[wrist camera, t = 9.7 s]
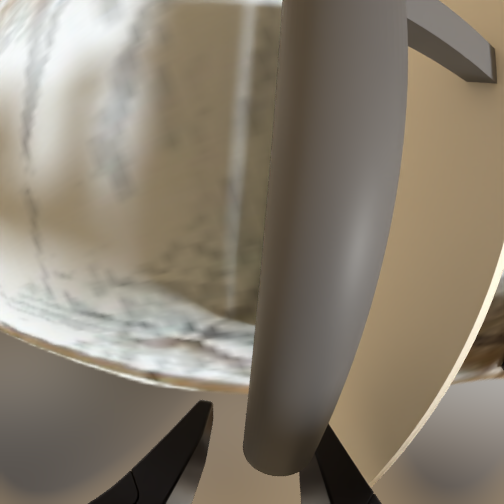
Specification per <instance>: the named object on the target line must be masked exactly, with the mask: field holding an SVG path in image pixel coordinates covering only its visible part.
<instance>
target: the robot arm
mask: <svg viewBox="0 0 504 504" xmlns="http://www.w3.org/2000/svg"><path fill="white" fill-rule="evenodd" d="M502 369H503V370H504V363H503V365H502ZM212 424H213V403H212V402H210V401H205V400H200V401H198V402H197V403H196V404H195V405H194V407H193V408H192V409H191V410H190V411H189V412H188V413H187V414H186V415H185V416H184V417H183V418H182V419H181V420H180V421H179V422H178V423H177V424H176V425H175V427H173V429H172V430H171V431H170V432H169V433H168V434H167V435H166V436H165V437H164V438H163V439H162V440H161V441H160V442H159V443H158V444H157V445H156V446H155V447H154V448H153V449H152V450H151V451H150V452H149V453H148V454H147V455H146V456H145V457H144V458H143V459H142V460H141V461H140V462H139V463H138V464H137V465H136V466H134V467H133V468H132V471H129V472H128V473H127V474H126V475H125V476H124V477H123V478H122V479H121V480H119V481H118V482H117V483H116V484H115V485H114V486H112V487H111V488H110V489H108V490H107V491H106V492H104V493H103V494H102V495H100V496H99V497H97V498H96V499H94V500H93V501H91V502H90V503H88V504H192V501H193V498H194V495H195V492H196V489H197V487H198V483H199V480H200V478H201V474H202V472H203V469H204V466H205V462H206V457H207V452H208V447H209V441H210V435H211V430H212ZM299 476H300V492H301V504H381V502H380V501H379V499H378V498H377V496H376V495H375V494H373V491H372V489H371V488H370V486H369V485H368V483H367V482H366V480H365V479H364V477H363V476H362V474H361V473H360V471H359V470H358V468H357V466H356V465H355V463H354V462H353V460H352V459H351V457H350V456H349V454H348V453H347V451H346V450H345V448H344V447H343V445H342V444H341V442H340V440H339V439H338V437H337V436H336V434H335V433H334V431H333V430H332V428H331V426H330V425H329V423H328V425H327V428H326V430H325V432H324V434H323V436H322V438H321V441H320V443H319V445H318V447H317V449H316V451H315V453H314V455H313V457H312V459H311V461H310V462H309V464H308V465H307V466H306V467H305V468H304V469H302V470H301V471H299Z"/></svg>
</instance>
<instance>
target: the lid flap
mask: <svg viewBox="0 0 504 504" xmlns="http://www.w3.org/2000/svg"><path fill="white" fill-rule="evenodd" d="M503 269H504V0H283V2H282V17H281V31H280V45H279V59H278V73H277V86H276V99H275V111H274V124H273V136H272V148H271V160H270V172H269V184H268V196H267V207H266V218H265V229H264V241H263V251H262V262H261V273H260V284H259V294H258V305H257V315H256V325H255V335H254V345H253V355H252V365H251V375H250V384H249V394H248V404H247V413H246V422H245V432H244V441H243V452H244V455H245V457H246V459H247V461H248V462H249V463H250V464H251V465H252V466H253V467H254V468H255V469H257V470H258V471H260V472H263V473H265V474H268V475H272V476H288V475H292V474H295V473H297V472H299V471H301V470H302V469H304V468H305V467H306V466H307V465H308V464H309V462H310V461H311V459H312V457H313V455H314V453H315V451H316V449H317V447H318V445H319V443H320V441H321V438H322V436H323V434H324V432H325V430H326V428H327V425H328V423H329V425H330V426H331V428H332V430H333V431H334V433H335V434H336V436H337V437H338V439H339V440H340V442H341V444H342V445H343V447H344V448H345V450H346V451H347V453H348V454H349V456H350V457H351V459H352V460H353V462H354V463H355V465H356V466H357V468H358V470H359V471H360V473H361V474H362V476H363V477H364V479H365V480H366V482H367V483H368V485H369V486H370V488H371V487H372V486H373V485H374V484H375V483H376V482H377V481H378V480H379V479H380V478H381V477H382V476H383V475H384V473H385V472H386V471H387V470H388V469H389V468H390V467H391V466H392V464H393V463H394V462H395V461H396V460H397V459H398V457H399V456H400V455H401V454H402V453H403V451H404V450H405V449H406V448H407V447H408V445H409V444H410V443H411V442H412V440H413V439H414V438H415V436H416V435H417V434H418V432H419V431H420V430H421V428H422V427H423V425H424V424H425V423H426V421H427V420H428V419H429V417H430V416H431V414H432V413H433V411H434V410H435V408H436V407H437V405H438V404H439V402H440V401H441V399H442V398H443V396H444V394H445V393H446V391H447V389H448V388H449V386H450V385H451V383H452V381H453V380H454V378H455V376H456V375H457V373H458V371H459V369H460V367H461V366H462V364H463V362H464V360H465V358H466V356H467V354H468V353H469V351H470V349H471V347H472V345H473V343H474V341H475V339H476V336H477V334H478V332H479V330H480V328H481V326H482V323H483V321H484V319H485V317H486V314H487V312H488V310H489V307H490V305H491V302H492V300H493V297H494V294H495V292H496V289H497V286H498V284H499V281H500V278H501V275H502V272H503Z"/></svg>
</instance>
